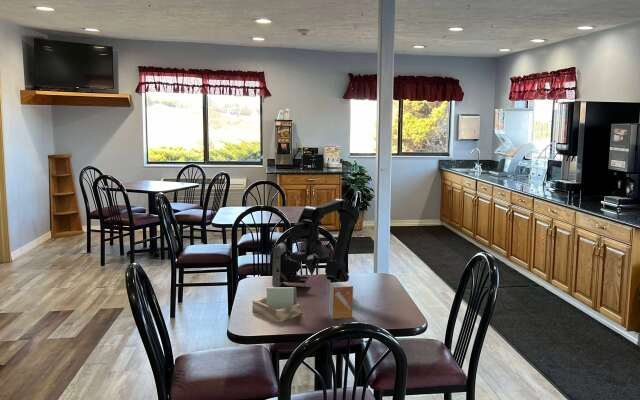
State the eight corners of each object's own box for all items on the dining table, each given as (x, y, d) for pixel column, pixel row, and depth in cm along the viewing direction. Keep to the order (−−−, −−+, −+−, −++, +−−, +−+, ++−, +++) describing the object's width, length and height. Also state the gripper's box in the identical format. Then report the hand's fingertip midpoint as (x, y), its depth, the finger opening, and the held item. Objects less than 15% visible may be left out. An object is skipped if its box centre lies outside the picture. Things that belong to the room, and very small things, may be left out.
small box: (332, 319, 213) (333, 287, 211) (328, 313, 219) (329, 282, 217) (352, 318, 214) (353, 286, 212) (348, 312, 221) (348, 281, 219)
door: (267, 310, 219) (266, 287, 217) (296, 310, 219) (296, 287, 217) (266, 311, 217) (266, 288, 216) (296, 311, 218) (296, 288, 216)
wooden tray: (275, 304, 229) (275, 294, 228) (301, 314, 218) (301, 303, 217) (252, 311, 221) (252, 300, 220) (278, 322, 209) (278, 311, 209)
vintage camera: (304, 291, 247) (306, 248, 244) (271, 288, 250) (272, 245, 247) (309, 285, 256) (311, 244, 253) (277, 282, 259) (278, 241, 256)
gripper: (308, 243, 214) (308, 282, 216) (341, 236, 227) (341, 273, 229) (289, 239, 222) (289, 276, 224) (322, 232, 235) (322, 267, 237)
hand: (311, 273), depth 229 cm, fingers closed
